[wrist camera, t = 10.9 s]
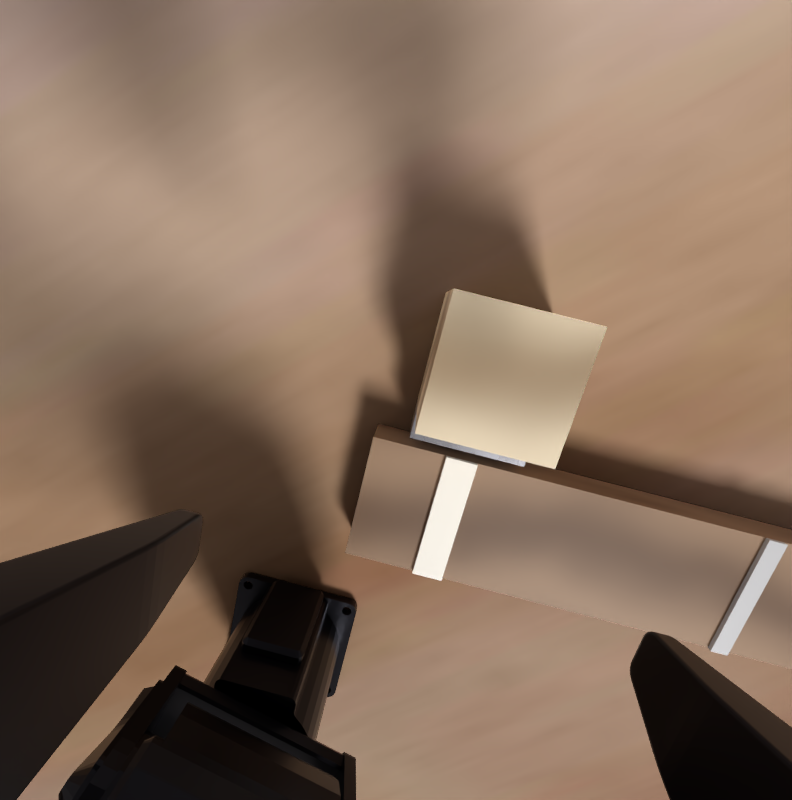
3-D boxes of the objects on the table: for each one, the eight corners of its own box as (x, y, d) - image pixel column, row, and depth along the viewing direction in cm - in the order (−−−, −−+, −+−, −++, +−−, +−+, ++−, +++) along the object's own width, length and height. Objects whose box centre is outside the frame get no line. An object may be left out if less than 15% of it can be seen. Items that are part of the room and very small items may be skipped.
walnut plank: (879, 667, 21) (931, 708, 19) (352, 530, 21) (344, 555, 19) (945, 569, 20) (1009, 601, 17) (378, 423, 20) (372, 438, 18)
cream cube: (512, 446, 20) (544, 499, 14) (411, 421, 20) (406, 464, 14) (554, 319, 18) (607, 326, 13) (445, 292, 18) (453, 288, 13)
